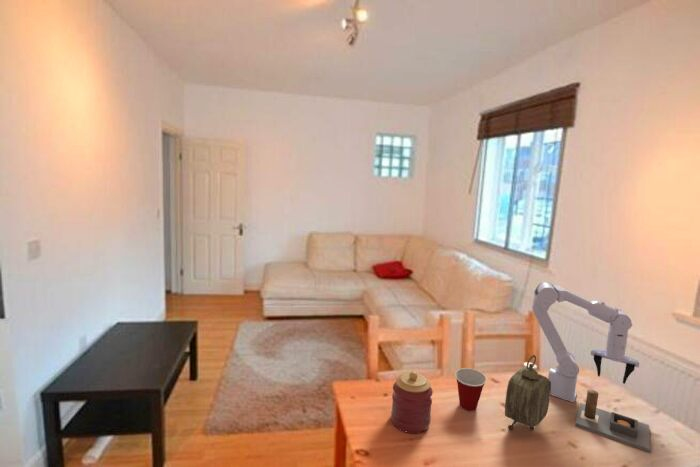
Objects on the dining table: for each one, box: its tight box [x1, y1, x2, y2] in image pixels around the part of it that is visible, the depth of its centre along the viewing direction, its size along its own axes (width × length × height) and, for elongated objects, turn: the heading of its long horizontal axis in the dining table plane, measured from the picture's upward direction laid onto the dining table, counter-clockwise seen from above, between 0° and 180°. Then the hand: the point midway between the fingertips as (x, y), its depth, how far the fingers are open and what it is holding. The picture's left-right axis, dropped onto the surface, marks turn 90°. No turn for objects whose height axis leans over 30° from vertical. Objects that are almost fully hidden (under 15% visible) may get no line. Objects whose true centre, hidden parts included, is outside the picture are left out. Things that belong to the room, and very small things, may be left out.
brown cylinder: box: [584, 389, 599, 419], centre depth 131 cm, size 3×3×9 cm
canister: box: [390, 371, 434, 434], centre depth 126 cm, size 13×13×18 cm
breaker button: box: [617, 420, 631, 427], centre depth 126 cm, size 4×4×1 cm
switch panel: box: [574, 402, 651, 453], centre depth 129 cm, size 20×15×4 cm
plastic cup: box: [454, 367, 487, 412], centre depth 136 cm, size 11×11×12 cm
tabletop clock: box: [504, 354, 551, 431], centre depth 125 cm, size 14×9×25 cm, turn 134°
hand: (611, 378), depth 141 cm, fingers open, 7 cm apart
